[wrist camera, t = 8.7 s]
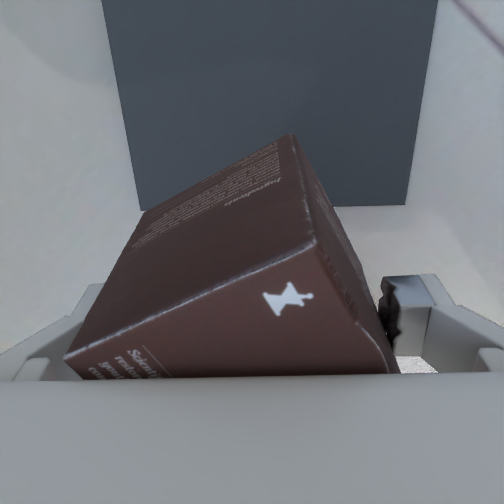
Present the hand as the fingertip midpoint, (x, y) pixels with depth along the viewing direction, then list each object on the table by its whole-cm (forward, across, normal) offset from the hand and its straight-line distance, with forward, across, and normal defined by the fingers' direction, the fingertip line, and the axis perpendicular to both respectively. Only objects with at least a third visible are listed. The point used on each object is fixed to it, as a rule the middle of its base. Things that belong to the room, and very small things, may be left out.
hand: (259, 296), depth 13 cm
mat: (+19, -1, -3) cm, 20 cm away
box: (+3, 0, 0) cm, 3 cm away
